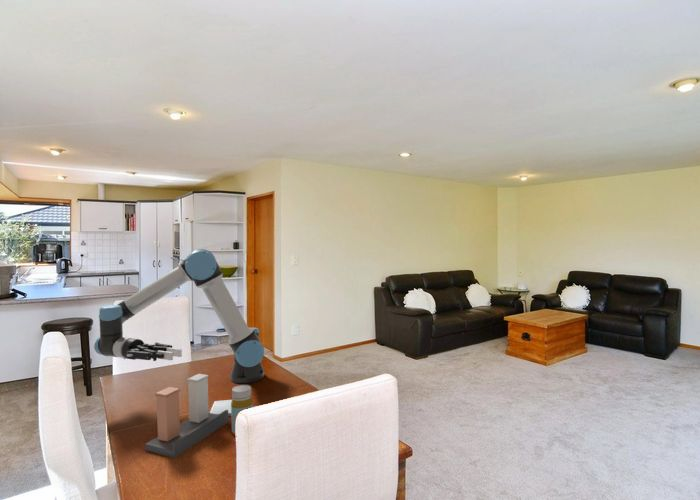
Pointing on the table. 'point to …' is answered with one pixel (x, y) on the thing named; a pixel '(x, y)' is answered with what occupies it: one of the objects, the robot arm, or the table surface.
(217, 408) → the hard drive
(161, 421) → the terracotta key
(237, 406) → the bottle
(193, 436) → the stand
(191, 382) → the grey tall block
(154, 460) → the table surface
